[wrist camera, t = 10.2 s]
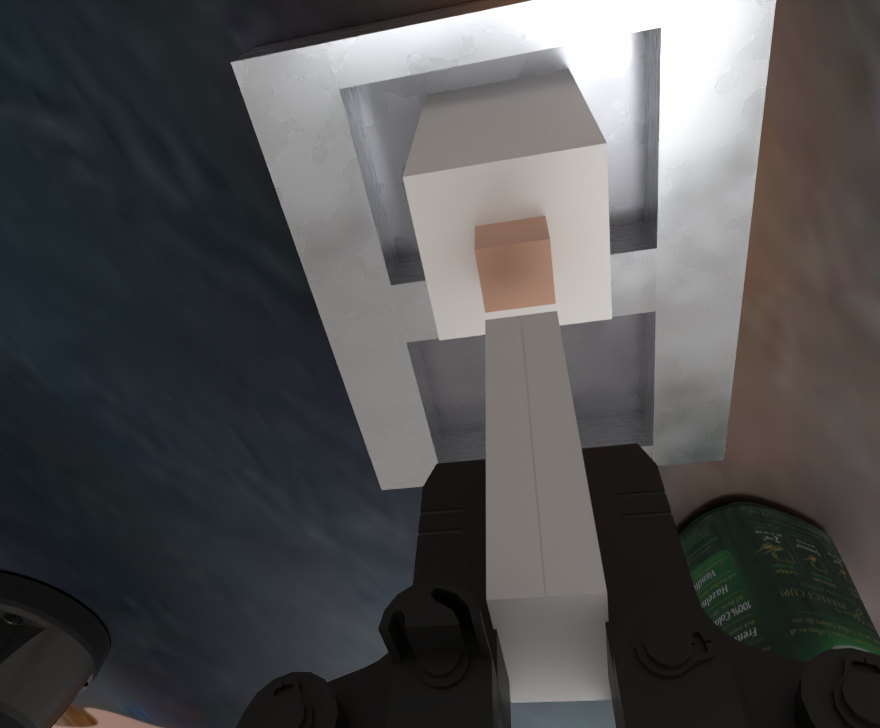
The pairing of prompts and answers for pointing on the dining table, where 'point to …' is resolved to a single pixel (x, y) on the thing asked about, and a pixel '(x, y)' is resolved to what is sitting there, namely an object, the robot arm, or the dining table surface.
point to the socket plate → (630, 210)
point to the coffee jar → (775, 582)
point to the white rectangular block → (511, 204)
